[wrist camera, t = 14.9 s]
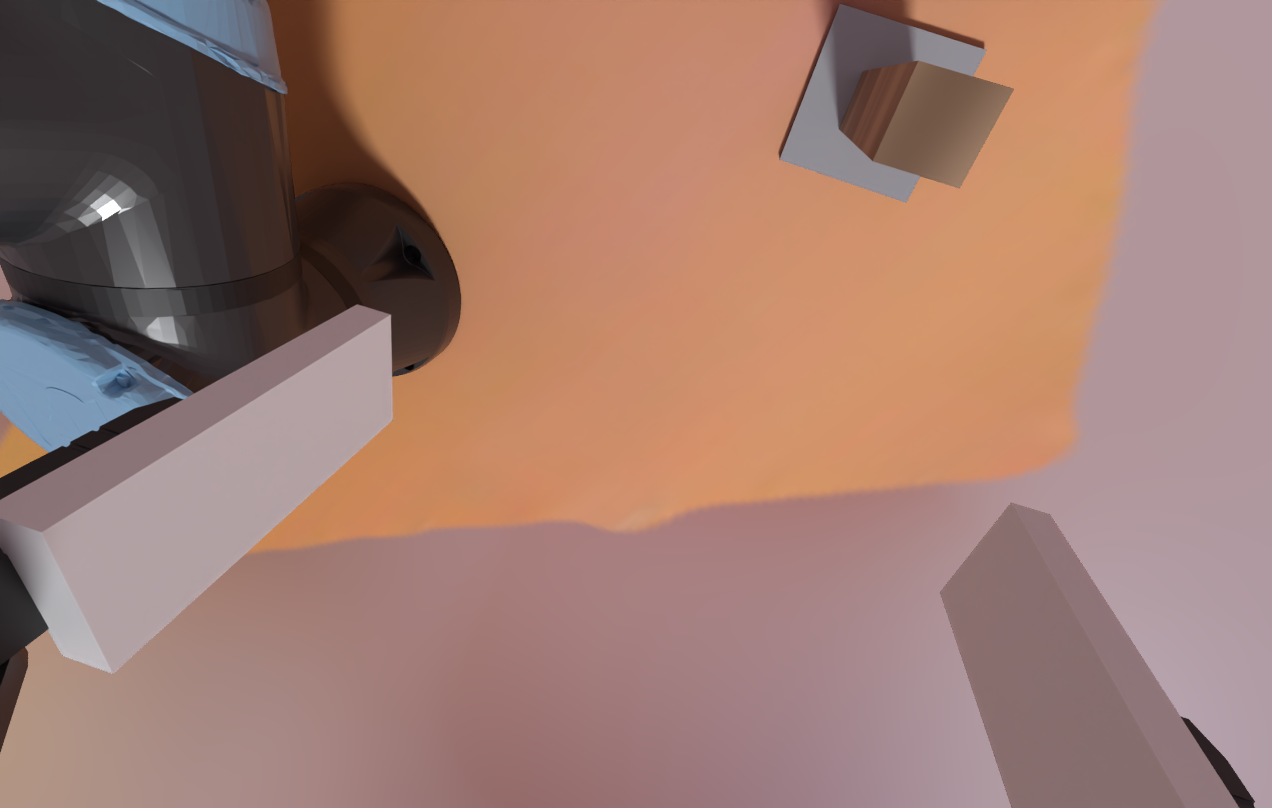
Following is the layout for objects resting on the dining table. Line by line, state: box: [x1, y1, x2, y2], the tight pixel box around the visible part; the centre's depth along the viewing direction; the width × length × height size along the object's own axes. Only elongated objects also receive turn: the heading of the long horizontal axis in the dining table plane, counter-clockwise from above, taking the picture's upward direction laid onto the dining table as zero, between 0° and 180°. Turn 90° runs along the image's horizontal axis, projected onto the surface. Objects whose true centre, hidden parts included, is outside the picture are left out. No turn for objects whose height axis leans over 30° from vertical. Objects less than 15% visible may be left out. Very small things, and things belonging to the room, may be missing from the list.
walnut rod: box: [839, 60, 1014, 188], centre depth 25 cm, size 3×3×16 cm
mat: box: [780, 3, 987, 202], centre depth 32 cm, size 8×8×1 cm
